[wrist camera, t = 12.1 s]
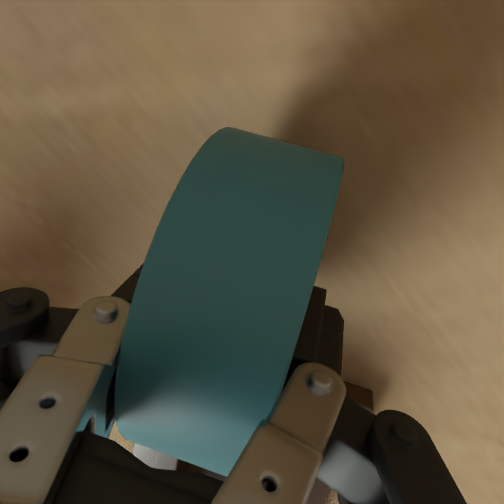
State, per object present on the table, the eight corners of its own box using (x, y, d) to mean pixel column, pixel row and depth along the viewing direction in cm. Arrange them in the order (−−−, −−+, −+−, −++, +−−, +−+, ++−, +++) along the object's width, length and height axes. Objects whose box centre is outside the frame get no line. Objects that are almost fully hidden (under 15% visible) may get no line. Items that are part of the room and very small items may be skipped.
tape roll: (215, 312, 20) (105, 513, 11) (257, 105, 15) (122, 181, 7) (283, 334, 20) (224, 560, 11) (349, 129, 15) (336, 244, 6)
